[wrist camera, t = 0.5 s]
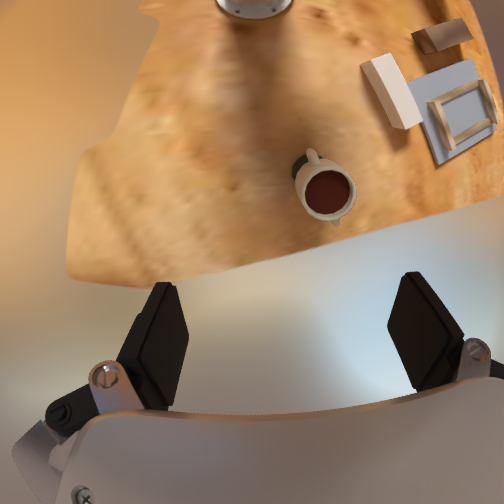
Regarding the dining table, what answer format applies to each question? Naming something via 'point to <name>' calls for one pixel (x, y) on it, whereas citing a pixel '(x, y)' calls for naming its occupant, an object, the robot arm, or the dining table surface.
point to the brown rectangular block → (442, 36)
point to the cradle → (451, 141)
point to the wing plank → (392, 91)
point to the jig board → (451, 106)
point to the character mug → (323, 187)
